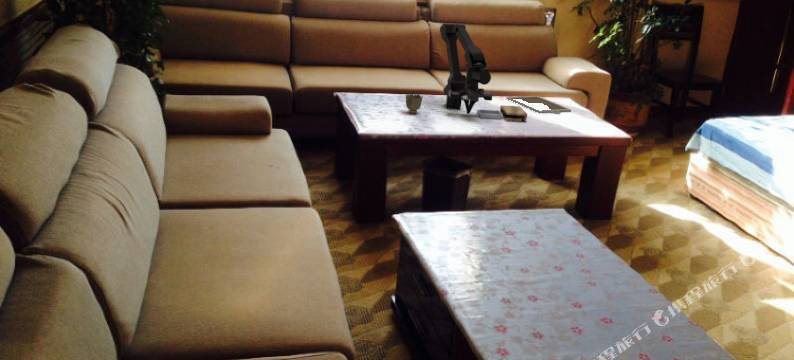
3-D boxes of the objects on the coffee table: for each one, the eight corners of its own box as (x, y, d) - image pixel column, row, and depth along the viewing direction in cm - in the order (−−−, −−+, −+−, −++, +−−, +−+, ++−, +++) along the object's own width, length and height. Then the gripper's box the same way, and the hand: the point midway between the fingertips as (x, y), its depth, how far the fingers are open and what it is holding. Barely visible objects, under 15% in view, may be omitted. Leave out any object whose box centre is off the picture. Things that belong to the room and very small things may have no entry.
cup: (423, 115, 284) (425, 97, 282) (408, 115, 282) (409, 97, 279) (417, 110, 291) (418, 93, 288) (401, 111, 288) (403, 93, 285)
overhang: (506, 121, 285) (507, 112, 284) (499, 113, 297) (500, 105, 296) (526, 122, 286) (527, 114, 284) (518, 114, 298) (519, 106, 297)
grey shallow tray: (480, 118, 286) (481, 114, 286) (477, 113, 294) (477, 109, 293) (502, 119, 287) (503, 115, 287) (498, 114, 295) (499, 110, 294)
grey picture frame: (537, 95, 333) (575, 111, 308) (536, 98, 333) (574, 114, 308) (506, 97, 325) (542, 112, 300) (505, 100, 325) (542, 116, 300)
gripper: (454, 82, 275) (450, 117, 281) (496, 84, 277) (492, 119, 283) (450, 76, 286) (446, 110, 291) (491, 79, 287) (487, 113, 293)
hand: (468, 113), depth 289 cm, fingers closed
